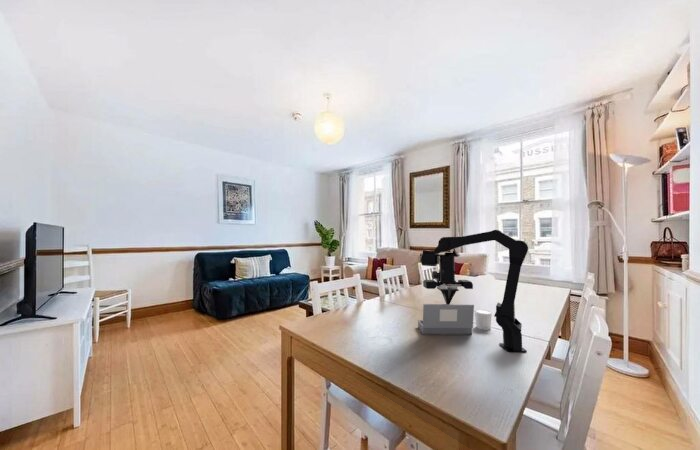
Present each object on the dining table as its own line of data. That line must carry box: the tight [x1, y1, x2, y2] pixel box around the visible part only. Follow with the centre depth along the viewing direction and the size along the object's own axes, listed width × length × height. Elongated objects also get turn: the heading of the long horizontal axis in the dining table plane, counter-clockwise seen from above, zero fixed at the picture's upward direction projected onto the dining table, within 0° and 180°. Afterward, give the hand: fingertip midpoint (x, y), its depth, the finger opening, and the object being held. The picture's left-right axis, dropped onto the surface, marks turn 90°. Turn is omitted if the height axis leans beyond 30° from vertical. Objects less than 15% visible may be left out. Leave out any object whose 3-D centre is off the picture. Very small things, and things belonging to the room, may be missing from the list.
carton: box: [417, 319, 473, 336], centre depth 115 cm, size 9×20×3 cm, turn 89°
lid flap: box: [422, 303, 475, 329], centre depth 110 cm, size 10×20×1 cm
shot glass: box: [474, 309, 493, 331], centre depth 119 cm, size 7×7×7 cm
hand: (447, 305), depth 110 cm, fingers closed
